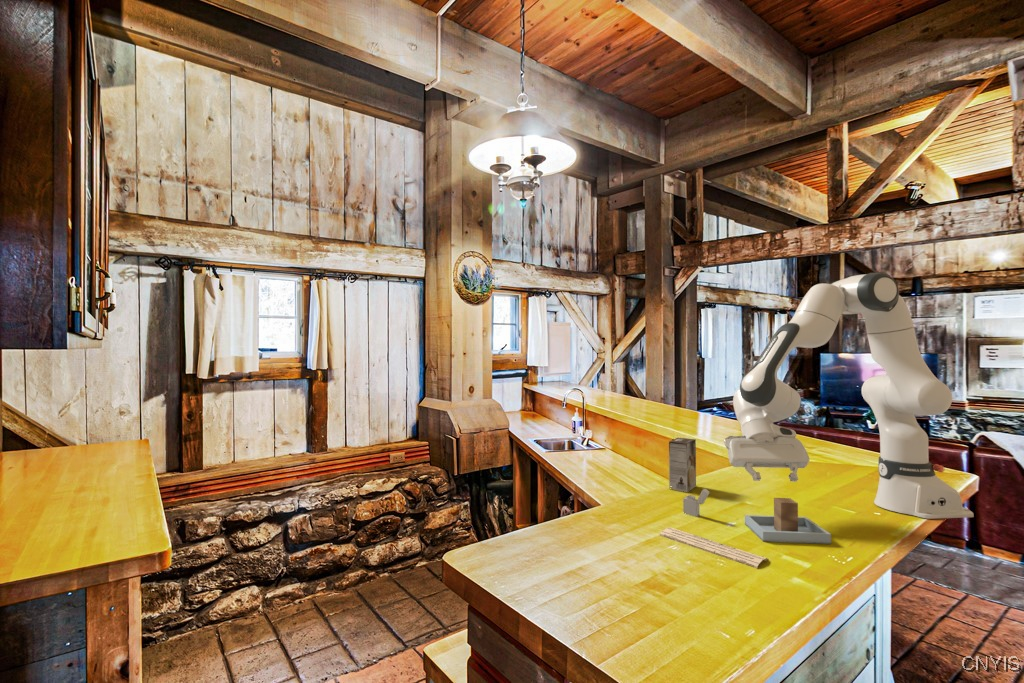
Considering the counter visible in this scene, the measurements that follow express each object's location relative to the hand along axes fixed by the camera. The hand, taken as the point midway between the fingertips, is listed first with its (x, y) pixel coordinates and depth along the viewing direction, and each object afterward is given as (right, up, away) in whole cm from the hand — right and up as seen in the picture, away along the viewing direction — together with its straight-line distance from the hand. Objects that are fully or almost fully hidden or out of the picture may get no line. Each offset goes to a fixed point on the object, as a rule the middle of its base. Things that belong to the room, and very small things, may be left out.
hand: (776, 480), depth 127 cm
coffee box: (-13, -13, +34) cm, 38 cm away
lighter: (-19, -12, +7) cm, 23 cm away
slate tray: (-1, -12, -6) cm, 13 cm away
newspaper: (-23, -13, -14) cm, 30 cm away
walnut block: (-1, -11, -6) cm, 13 cm away
